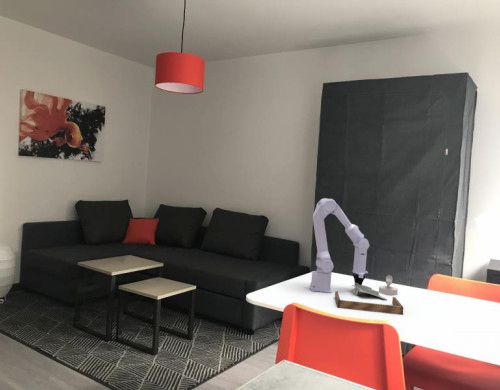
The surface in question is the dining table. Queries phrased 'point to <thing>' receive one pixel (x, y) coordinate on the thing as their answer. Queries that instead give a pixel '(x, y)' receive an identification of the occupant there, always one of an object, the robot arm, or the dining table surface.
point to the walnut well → (370, 305)
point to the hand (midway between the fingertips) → (357, 289)
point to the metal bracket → (366, 290)
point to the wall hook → (388, 287)
